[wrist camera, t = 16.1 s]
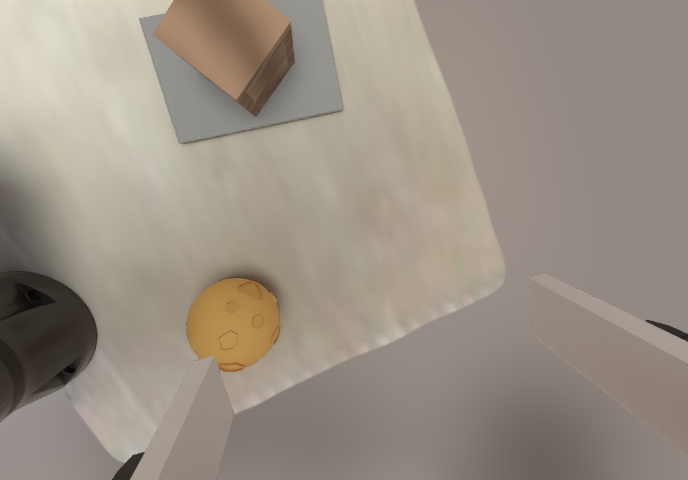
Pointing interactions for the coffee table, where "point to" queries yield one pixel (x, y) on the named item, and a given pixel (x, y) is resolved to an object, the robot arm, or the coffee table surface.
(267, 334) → the stress ball
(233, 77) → the brown wooden block
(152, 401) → the coffee table surface
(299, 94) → the stub plate
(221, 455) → the robot arm
